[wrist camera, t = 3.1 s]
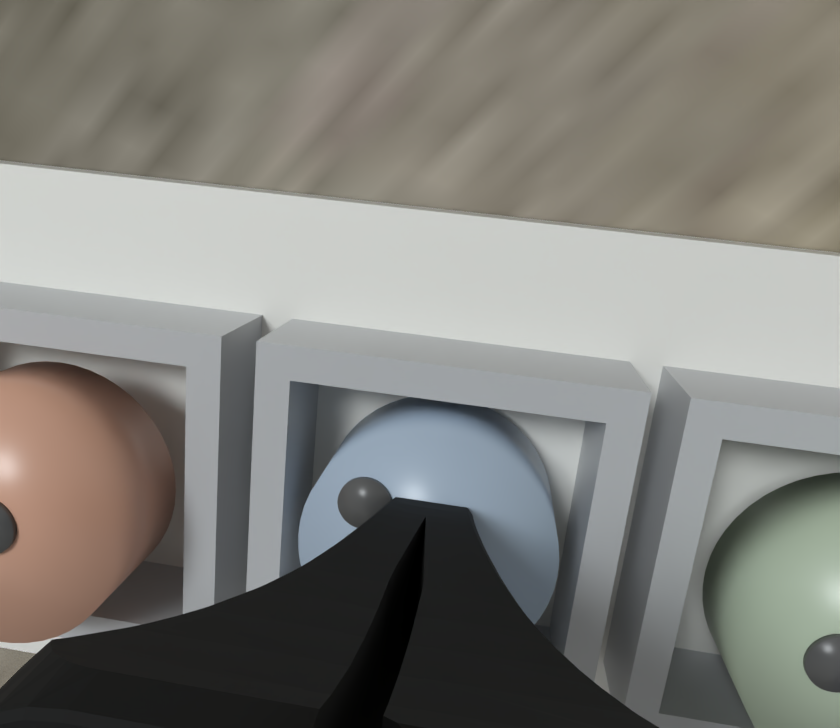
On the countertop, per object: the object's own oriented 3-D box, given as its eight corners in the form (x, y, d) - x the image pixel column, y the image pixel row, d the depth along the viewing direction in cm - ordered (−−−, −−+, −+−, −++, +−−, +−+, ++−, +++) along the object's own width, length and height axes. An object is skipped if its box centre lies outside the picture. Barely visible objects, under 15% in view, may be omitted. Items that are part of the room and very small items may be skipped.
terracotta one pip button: (175, 594, 13) (115, 667, 11) (-36, 558, 14) (-129, 623, 12) (176, 378, 12) (111, 416, 10) (-53, 347, 13) (-159, 377, 11)
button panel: (919, 760, 16) (1032, 917, 12) (-22, 598, 18) (-145, 695, 14) (1091, 280, 13) (1300, 314, 9) (-55, 154, 15) (-219, 144, 11)
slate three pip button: (533, 617, 14) (538, 691, 12) (320, 583, 14) (289, 648, 12) (567, 411, 13) (579, 453, 11) (335, 380, 13) (304, 415, 11)
